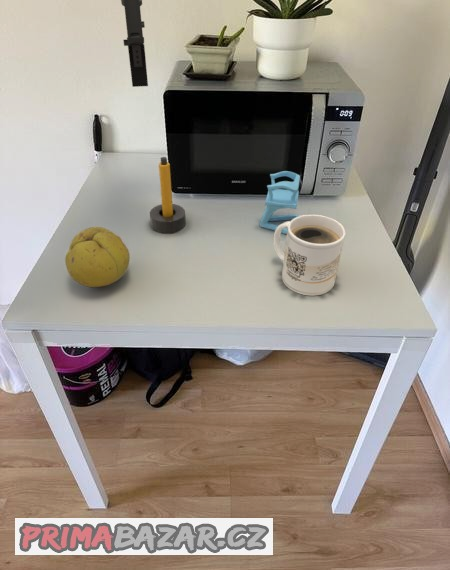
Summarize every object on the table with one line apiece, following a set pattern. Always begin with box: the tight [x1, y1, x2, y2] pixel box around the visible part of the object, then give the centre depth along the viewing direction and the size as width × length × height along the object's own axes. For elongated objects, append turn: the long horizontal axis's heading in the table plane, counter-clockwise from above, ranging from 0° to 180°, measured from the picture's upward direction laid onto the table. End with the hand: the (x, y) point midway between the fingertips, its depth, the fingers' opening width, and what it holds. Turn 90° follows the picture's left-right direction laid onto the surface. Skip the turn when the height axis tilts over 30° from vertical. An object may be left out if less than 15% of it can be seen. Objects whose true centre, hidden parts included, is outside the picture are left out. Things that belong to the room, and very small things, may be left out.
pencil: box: [158, 156, 173, 217], centre depth 92 cm, size 2×2×15 cm
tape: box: [149, 203, 187, 235], centre depth 96 cm, size 8×8×3 cm
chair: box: [259, 170, 301, 235], centre depth 93 cm, size 8×8×12 cm
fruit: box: [64, 226, 130, 288], centre depth 78 cm, size 11×12×10 cm
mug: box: [272, 214, 346, 297], centre depth 80 cm, size 10×12×11 cm
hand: (139, 75), depth 83 cm, fingers open, 13 cm apart
